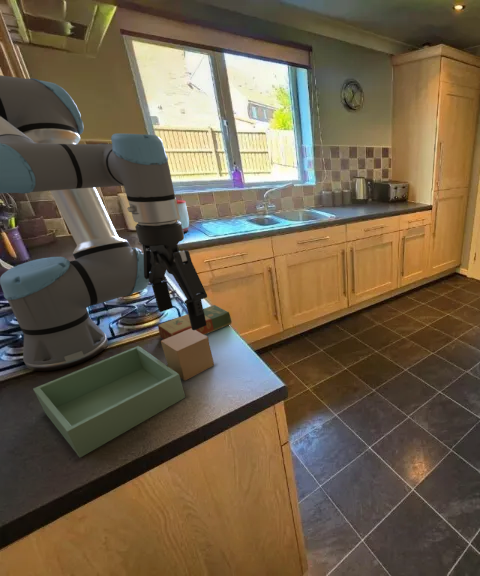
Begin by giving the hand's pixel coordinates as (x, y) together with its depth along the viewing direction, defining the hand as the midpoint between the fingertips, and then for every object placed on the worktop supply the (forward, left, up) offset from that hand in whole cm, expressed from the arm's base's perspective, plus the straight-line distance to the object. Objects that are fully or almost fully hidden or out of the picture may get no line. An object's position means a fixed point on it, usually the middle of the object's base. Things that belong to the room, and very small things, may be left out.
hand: (182, 318), depth 72 cm
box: (-1, 0, -14) cm, 14 cm away
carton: (-16, +10, -14) cm, 24 cm away
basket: (-1, -15, -14) cm, 20 cm away
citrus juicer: (-132, +63, -14) cm, 147 cm away
